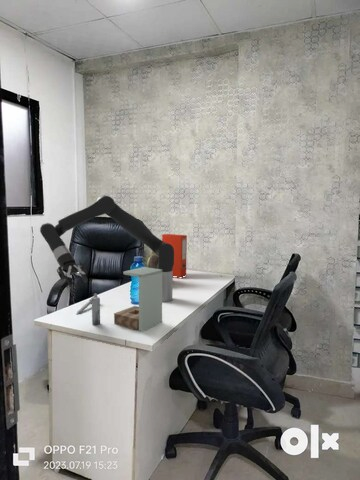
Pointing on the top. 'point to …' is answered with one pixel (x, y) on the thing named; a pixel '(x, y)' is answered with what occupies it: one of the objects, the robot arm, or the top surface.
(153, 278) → the pale green block
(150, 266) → the decorative clock
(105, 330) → the top surface
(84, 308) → the caliper
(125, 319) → the socket block
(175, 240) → the file binder
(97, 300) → the steel peg
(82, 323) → the top surface
